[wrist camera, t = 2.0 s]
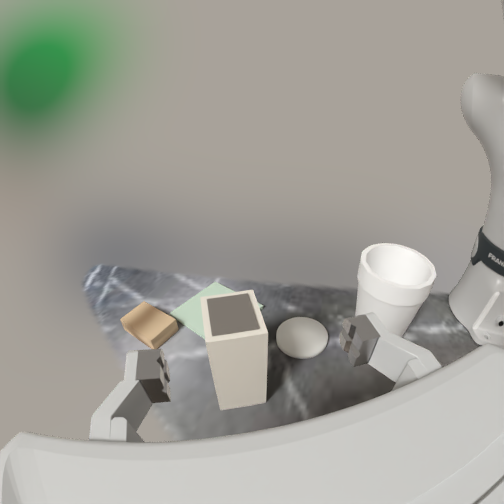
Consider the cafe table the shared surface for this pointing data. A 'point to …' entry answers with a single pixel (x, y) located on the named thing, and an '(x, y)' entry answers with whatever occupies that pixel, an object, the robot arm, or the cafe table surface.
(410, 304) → the foam cup
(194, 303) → the mat
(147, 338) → the oak block
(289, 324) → the white pebble stone
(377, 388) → the cafe table surface
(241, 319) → the canister
